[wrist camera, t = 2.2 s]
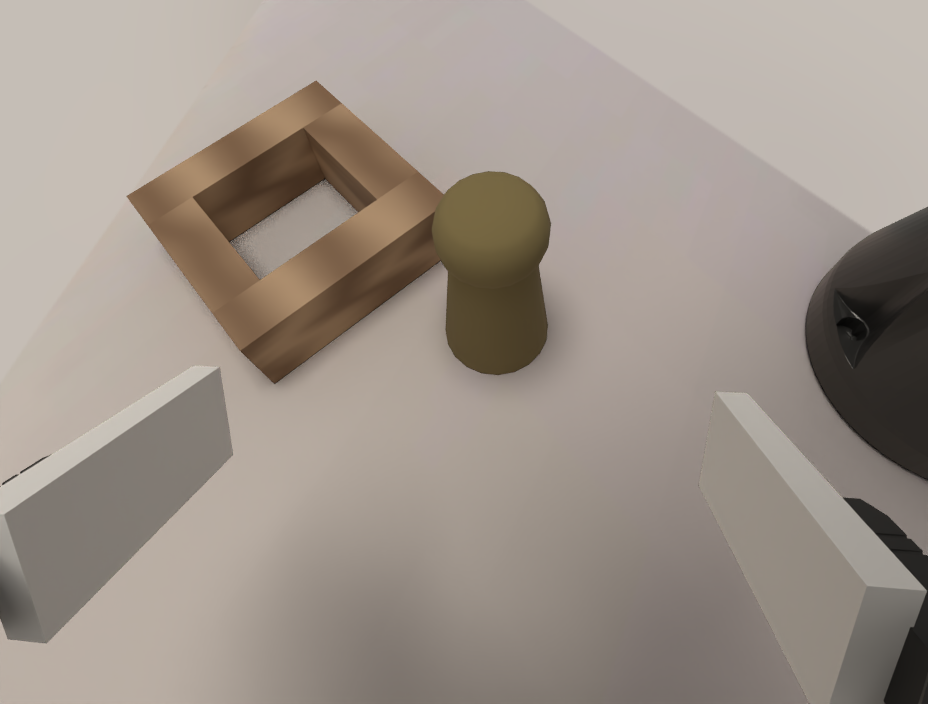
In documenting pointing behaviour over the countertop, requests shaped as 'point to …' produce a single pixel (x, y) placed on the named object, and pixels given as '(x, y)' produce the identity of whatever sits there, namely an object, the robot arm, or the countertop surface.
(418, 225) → the socket block
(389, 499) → the countertop surface
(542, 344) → the cork
